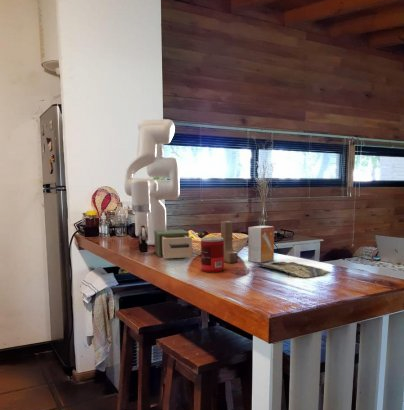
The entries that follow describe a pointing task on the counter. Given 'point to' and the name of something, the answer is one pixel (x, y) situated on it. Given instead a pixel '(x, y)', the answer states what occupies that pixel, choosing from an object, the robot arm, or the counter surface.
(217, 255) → the canned food
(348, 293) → the counter surface
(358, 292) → the counter surface
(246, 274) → the counter surface
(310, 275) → the aerial photo print
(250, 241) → the small box
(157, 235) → the cabinet
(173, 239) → the drawer
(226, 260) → the wooden block
